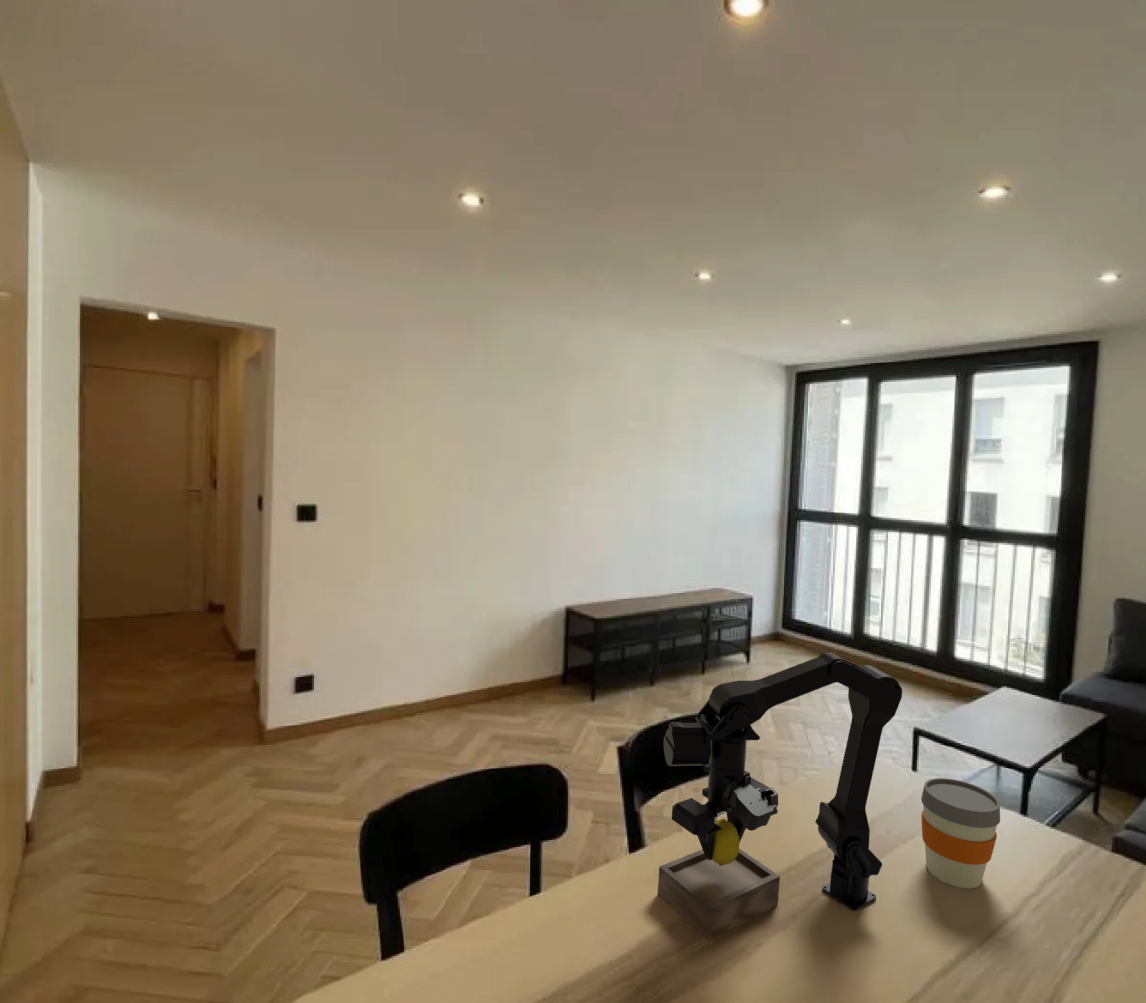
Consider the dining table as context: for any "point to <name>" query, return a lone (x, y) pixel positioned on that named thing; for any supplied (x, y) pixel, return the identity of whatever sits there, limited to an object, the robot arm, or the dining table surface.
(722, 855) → the lemon
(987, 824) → the reusable coffee cup
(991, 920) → the dining table surface
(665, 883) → the wooden tray
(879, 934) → the dining table surface
